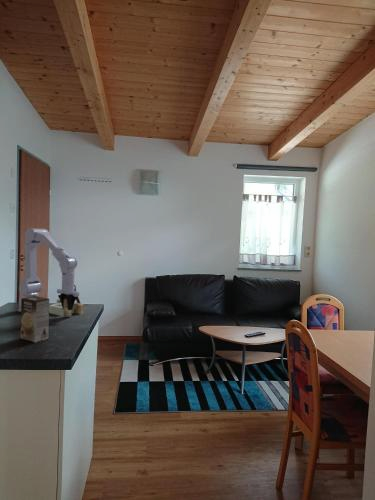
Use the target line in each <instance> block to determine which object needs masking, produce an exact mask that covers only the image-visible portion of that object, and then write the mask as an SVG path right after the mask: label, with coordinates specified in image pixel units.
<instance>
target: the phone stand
mask: <svg viewBox="0 0 375 500" xmlns="http://www.w3.org/2000/svg"><path fill="white" fill-rule="evenodd" d="M74 291H76V292H77V286H76V284H74ZM79 297H80V296H77V299H76V300H75V302H76V303H80V304H82V303H81V301H80V298H79Z"/></svg>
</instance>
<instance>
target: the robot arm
mask: <svg viewBox="0 0 375 500" xmlns="http://www.w3.org/2000/svg"><path fill="white" fill-rule="evenodd" d="M41 243H44V244H45V246H46V247H47V248H48V249H50V251H51V254H52V256H53V257H54V259H56V261H57V262H58V265H59V268H60V273H61V288H57V289H56V294H58V295H57V297H58V300H59V299H60V301H61V304H62V308H63V309H64V299H66V300H67V305H68V310H72V309H73V305H74V302H75V303H76V299H77V296H78V297H80V292H78V291H77V290H76V291H74V289H75V287H74V285H75V269H76V268H77V266H78V261H77V258H75V257H73V256H71V255H70V254H69V253H68V252H66V251H65V248H64V247H62V246H58V244H57V243H56V242H55V240H54V239H53V238H52V237H51V233H50V232H49V231H48V229H46V228H33V227H29V228H27V229H26V231H24V274H25V275H24V277H22V279H21V280H20V283H19V287H18V289H19V293H20V294H21V295H20V297H19V301H18V303H19V307H18V309H17V312H20V313H21V298H26V297H32V296H38V297H39V295H40V292H41V291H42V290H43V285H42V282H41V281H42V280H41V278H40V277H38V275H37V273H38V271H37V269H38V267H37V265H38V264H37V247H38V245H40V244H41Z"/></svg>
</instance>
